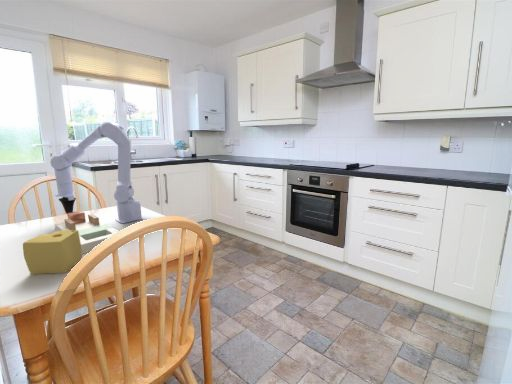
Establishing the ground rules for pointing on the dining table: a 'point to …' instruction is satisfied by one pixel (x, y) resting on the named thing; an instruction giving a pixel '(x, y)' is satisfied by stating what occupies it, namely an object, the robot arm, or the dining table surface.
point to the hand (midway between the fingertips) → (69, 213)
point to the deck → (88, 231)
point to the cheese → (52, 252)
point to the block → (77, 217)
